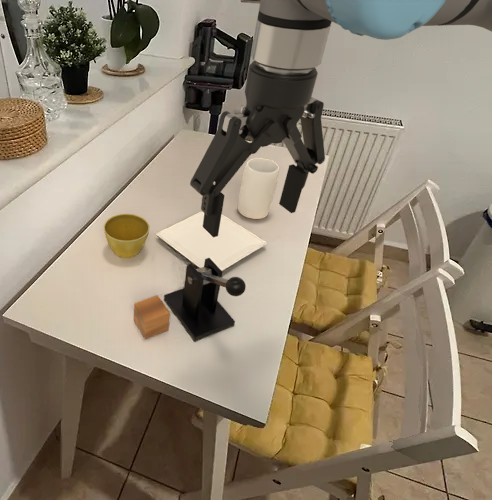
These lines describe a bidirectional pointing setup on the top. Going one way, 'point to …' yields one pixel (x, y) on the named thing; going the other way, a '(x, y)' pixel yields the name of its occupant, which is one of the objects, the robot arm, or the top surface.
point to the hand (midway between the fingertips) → (250, 219)
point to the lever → (223, 282)
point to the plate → (211, 241)
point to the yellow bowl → (126, 234)
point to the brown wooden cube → (151, 316)
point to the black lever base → (199, 304)
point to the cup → (258, 187)
